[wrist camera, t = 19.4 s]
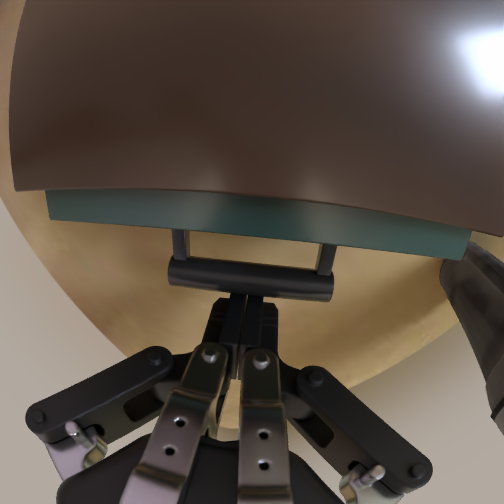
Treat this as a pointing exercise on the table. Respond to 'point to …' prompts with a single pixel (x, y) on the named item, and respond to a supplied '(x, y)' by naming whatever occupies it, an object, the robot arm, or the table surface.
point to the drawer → (257, 235)
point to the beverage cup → (481, 315)
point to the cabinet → (267, 102)
